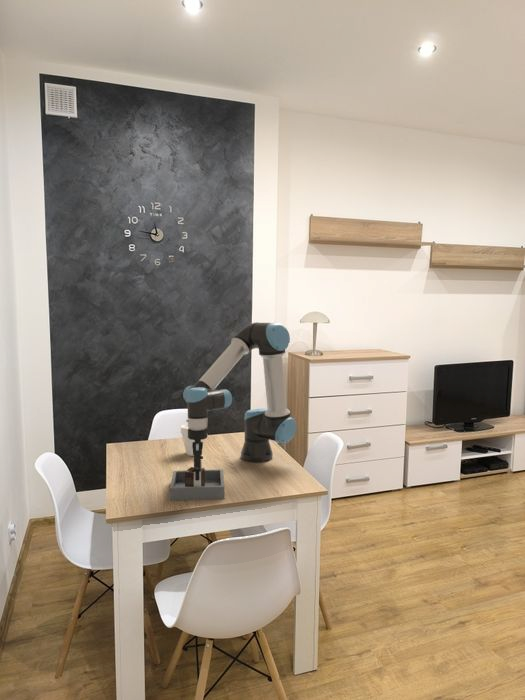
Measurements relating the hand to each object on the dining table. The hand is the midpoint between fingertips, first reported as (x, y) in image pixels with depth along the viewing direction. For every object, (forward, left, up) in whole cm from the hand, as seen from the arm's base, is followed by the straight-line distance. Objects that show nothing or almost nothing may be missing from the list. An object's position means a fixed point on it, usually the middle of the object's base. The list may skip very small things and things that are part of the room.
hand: (197, 481), depth 192 cm
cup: (+3, -49, -3) cm, 49 cm away
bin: (0, 0, -3) cm, 3 cm away
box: (+1, 0, -3) cm, 3 cm away
